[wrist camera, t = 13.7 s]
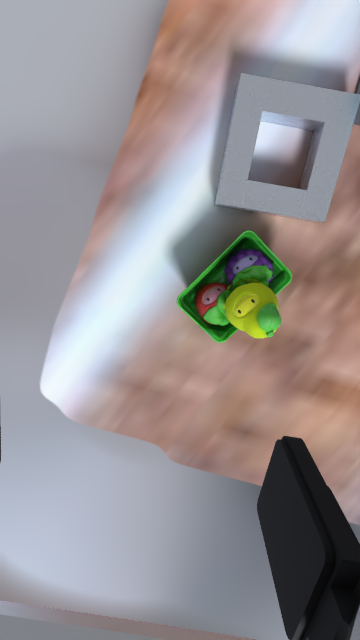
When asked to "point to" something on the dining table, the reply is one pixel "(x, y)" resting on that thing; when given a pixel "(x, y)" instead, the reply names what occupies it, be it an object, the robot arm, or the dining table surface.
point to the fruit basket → (238, 291)
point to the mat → (359, 115)
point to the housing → (294, 111)
